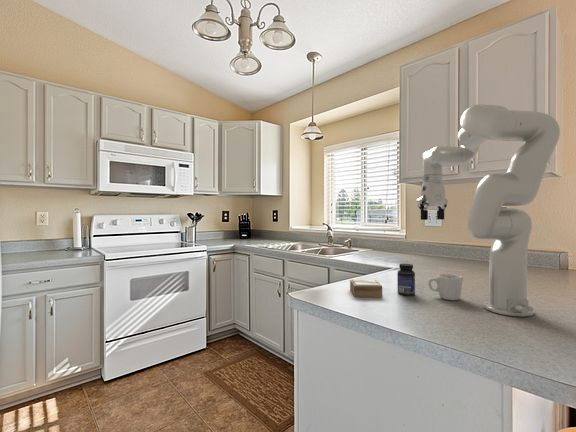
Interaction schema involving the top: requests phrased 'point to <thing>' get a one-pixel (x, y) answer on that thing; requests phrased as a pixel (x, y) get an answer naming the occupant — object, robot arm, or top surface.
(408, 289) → the pill bottle
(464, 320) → the top surface
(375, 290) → the base block
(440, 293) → the cup
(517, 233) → the robot arm
